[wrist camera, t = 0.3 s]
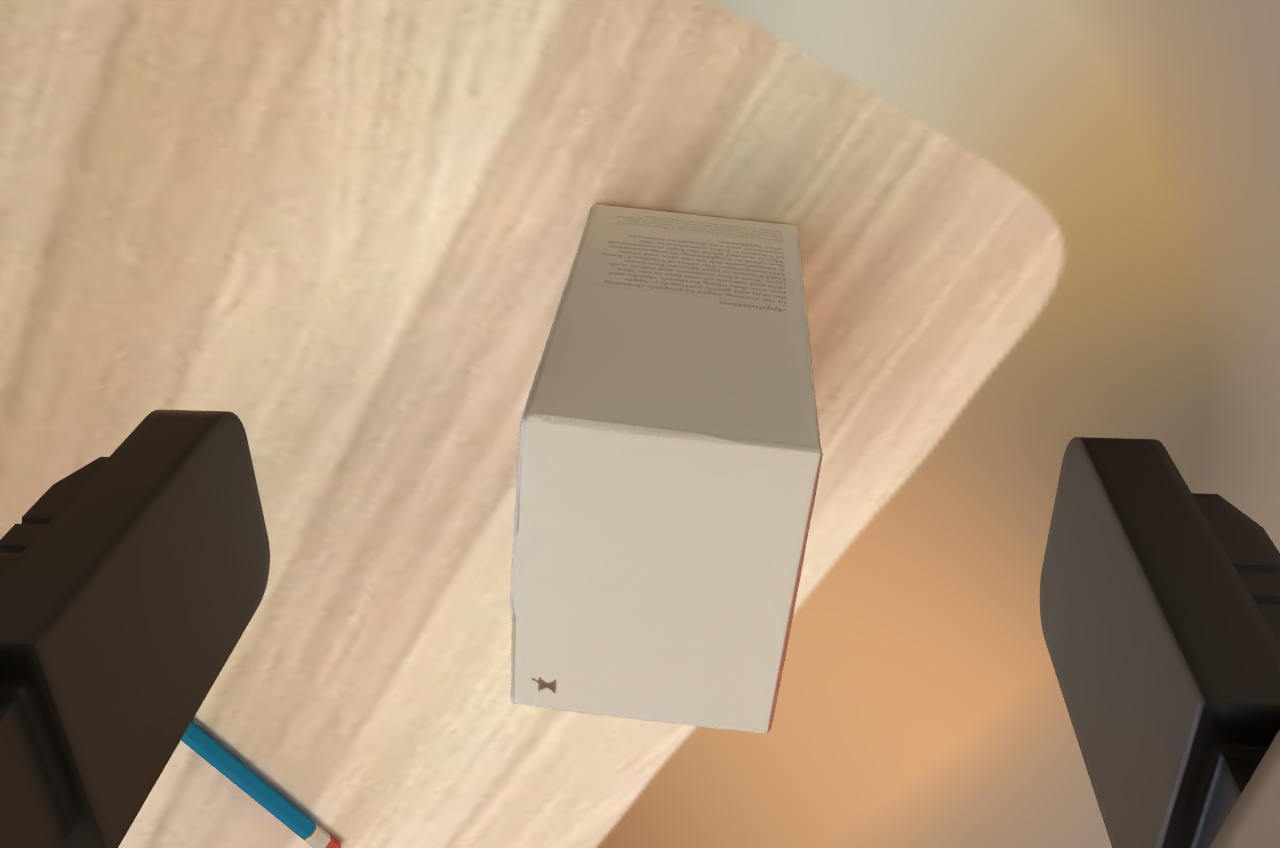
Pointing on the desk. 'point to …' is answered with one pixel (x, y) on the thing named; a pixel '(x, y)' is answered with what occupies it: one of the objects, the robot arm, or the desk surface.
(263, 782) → the pencil
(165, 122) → the desk surface
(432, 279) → the desk surface
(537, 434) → the small box
